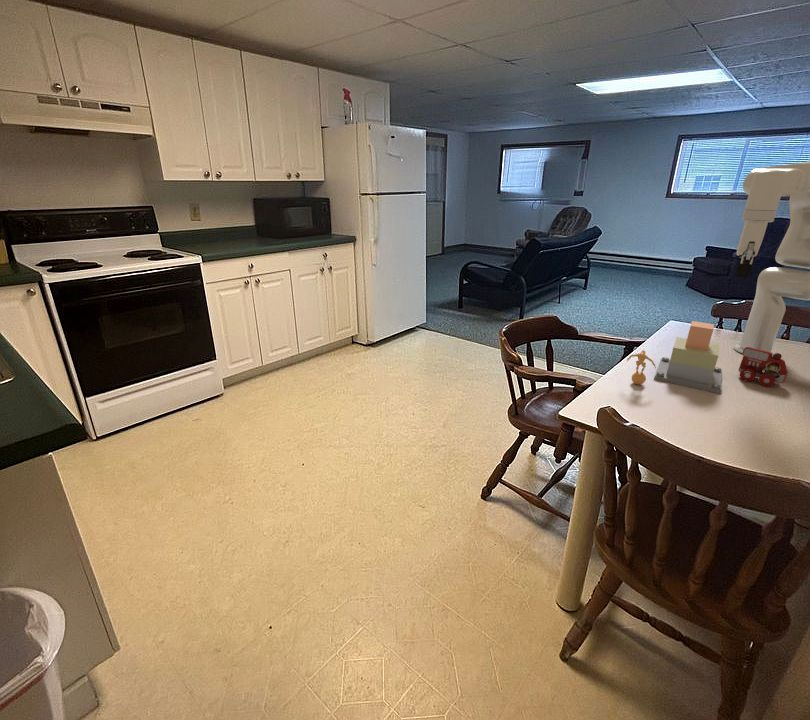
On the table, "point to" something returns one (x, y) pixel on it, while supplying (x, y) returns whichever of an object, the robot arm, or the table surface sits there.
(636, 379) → the figurine
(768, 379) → the toy fire truck
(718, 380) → the grey yellow stepped block
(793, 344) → the table surface
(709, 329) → the terracotta brick
